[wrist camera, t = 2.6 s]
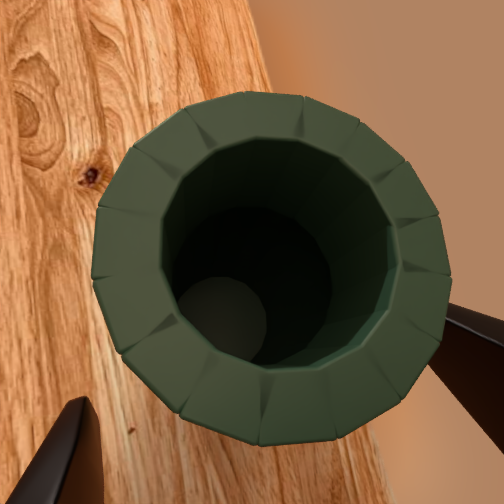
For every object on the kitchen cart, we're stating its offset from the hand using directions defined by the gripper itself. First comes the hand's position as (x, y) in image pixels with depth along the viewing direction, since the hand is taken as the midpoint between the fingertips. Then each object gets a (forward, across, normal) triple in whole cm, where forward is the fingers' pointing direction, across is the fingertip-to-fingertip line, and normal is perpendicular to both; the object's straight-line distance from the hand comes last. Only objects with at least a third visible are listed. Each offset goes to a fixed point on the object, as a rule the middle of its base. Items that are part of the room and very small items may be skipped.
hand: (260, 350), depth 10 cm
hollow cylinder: (+8, 0, +5) cm, 9 cm away
